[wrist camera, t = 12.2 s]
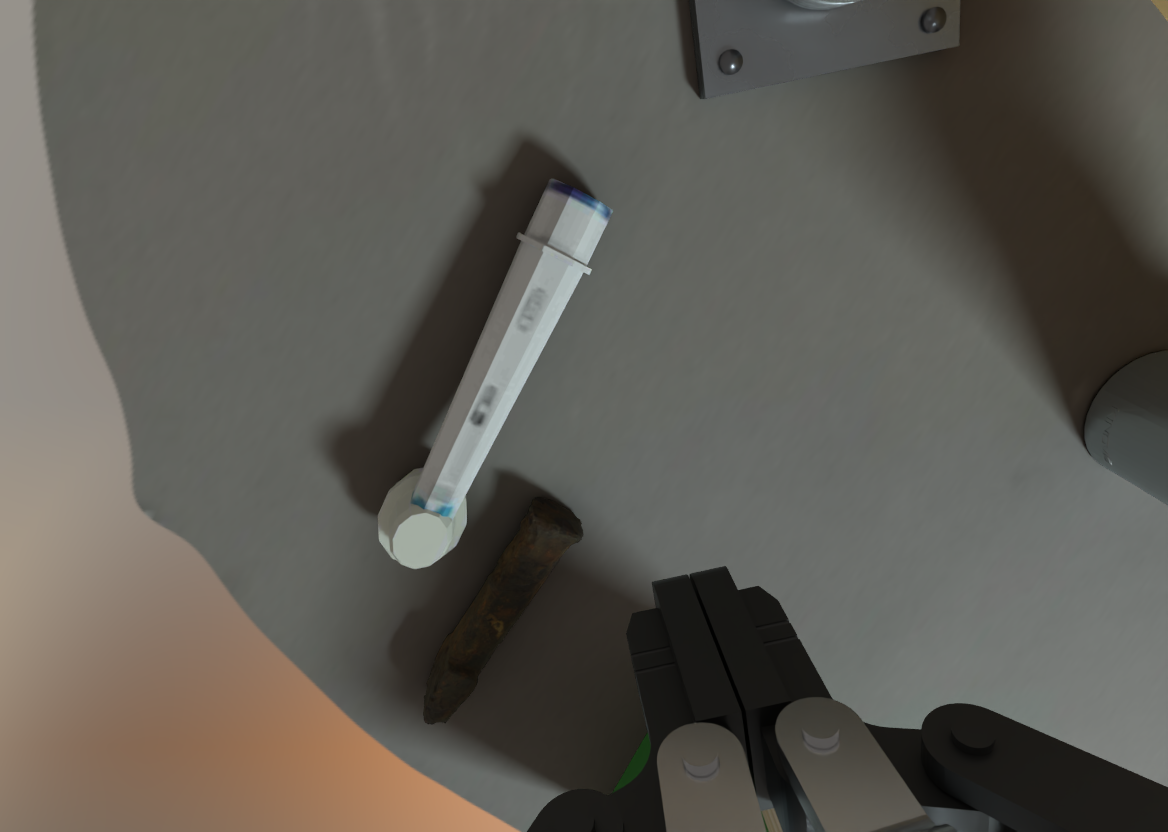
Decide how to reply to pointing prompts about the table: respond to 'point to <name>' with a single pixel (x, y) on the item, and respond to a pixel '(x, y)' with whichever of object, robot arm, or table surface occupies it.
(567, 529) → the hand tool
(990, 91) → the table surface
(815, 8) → the crank handle
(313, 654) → the table surface
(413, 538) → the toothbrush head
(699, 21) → the hub plate
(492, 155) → the table surface
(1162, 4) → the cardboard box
